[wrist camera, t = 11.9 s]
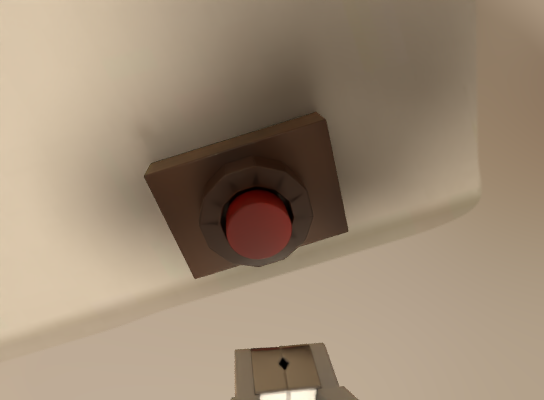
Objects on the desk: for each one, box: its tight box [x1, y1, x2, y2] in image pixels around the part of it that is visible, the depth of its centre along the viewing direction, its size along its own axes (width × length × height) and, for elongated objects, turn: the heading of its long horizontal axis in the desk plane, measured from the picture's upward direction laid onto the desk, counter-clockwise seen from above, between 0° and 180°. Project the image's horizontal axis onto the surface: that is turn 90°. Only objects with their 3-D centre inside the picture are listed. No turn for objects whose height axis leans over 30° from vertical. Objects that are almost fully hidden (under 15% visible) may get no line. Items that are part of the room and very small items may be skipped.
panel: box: [144, 112, 348, 279], centre depth 21 cm, size 11×8×4 cm
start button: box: [226, 190, 292, 259], centre depth 19 cm, size 4×4×2 cm
